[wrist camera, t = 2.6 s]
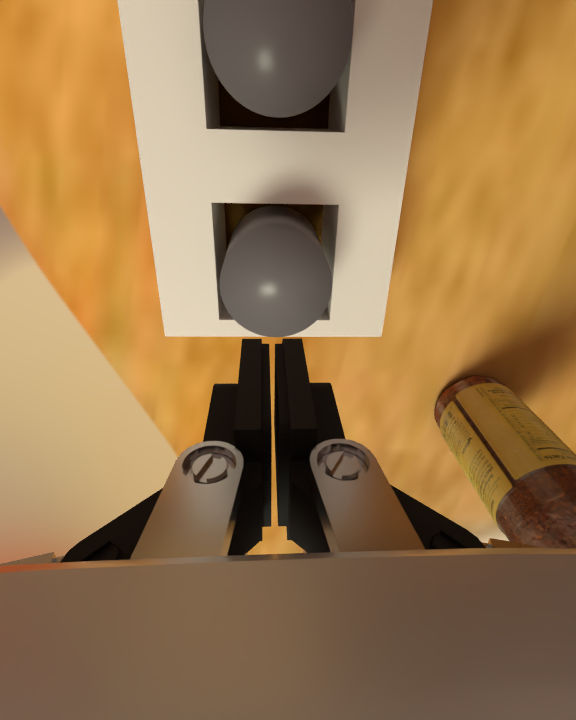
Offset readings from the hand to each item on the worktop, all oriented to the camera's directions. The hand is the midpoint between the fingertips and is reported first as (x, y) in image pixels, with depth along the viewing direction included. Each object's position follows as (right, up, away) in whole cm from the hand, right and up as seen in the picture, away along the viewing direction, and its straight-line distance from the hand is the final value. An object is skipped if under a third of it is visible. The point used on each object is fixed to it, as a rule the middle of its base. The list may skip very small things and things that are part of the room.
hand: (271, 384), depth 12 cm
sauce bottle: (+15, -3, +22) cm, 27 cm away
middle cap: (0, +14, +7) cm, 16 cm away
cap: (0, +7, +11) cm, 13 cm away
